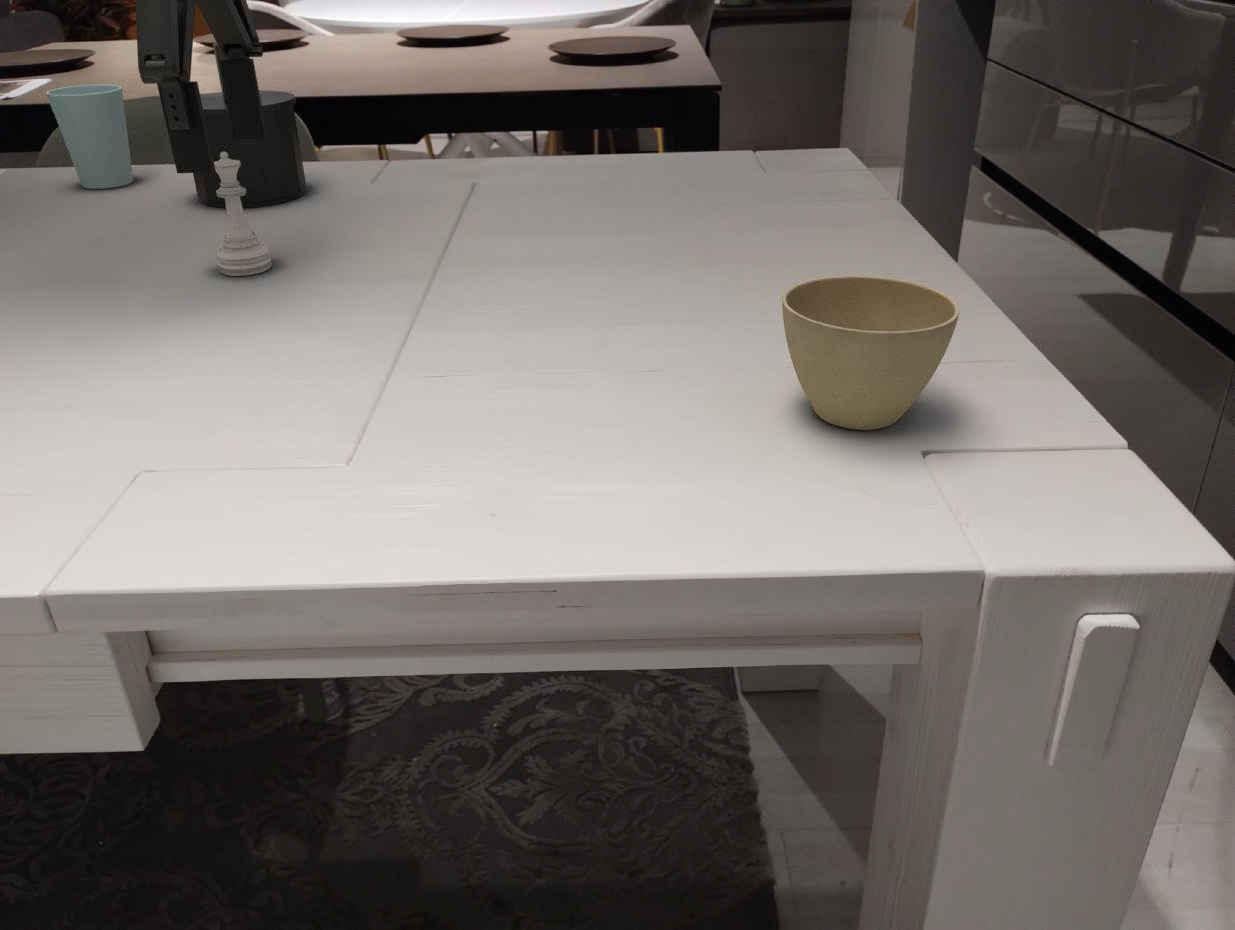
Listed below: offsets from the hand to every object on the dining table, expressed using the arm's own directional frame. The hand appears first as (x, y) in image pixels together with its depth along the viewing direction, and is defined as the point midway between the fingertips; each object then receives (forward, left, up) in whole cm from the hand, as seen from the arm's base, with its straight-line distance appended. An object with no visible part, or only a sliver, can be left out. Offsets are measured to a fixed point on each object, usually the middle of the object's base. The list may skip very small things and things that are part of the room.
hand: (225, 154), depth 84 cm
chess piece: (0, 0, -10) cm, 10 cm away
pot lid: (-17, +22, 0) cm, 28 cm away
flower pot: (+55, -11, -10) cm, 57 cm away
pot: (-17, +22, -10) cm, 30 cm away
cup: (-37, +21, -10) cm, 44 cm away
